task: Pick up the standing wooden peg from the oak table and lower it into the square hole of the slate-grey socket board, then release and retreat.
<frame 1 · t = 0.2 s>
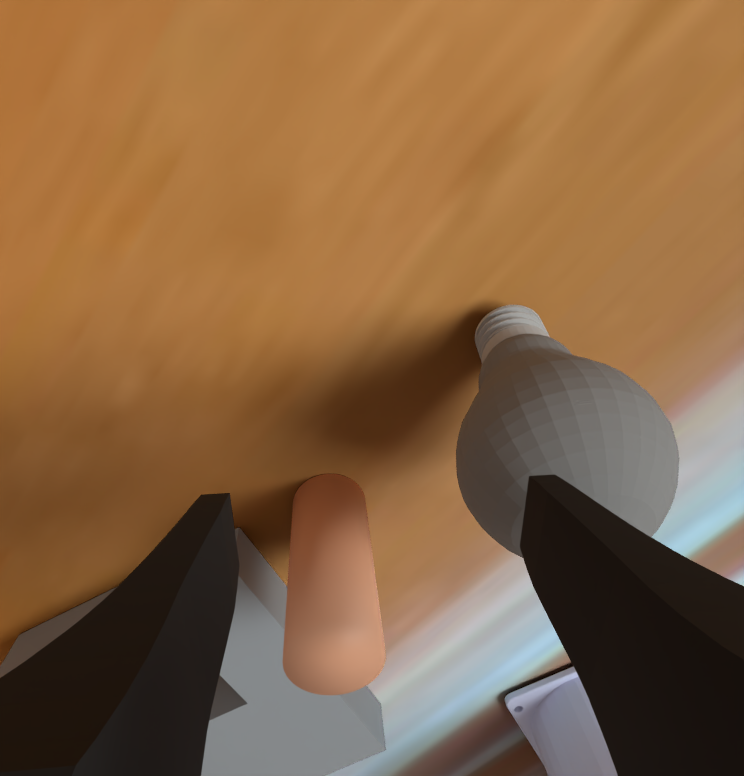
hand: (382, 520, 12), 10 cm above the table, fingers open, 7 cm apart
socket board: (213, 671, 28), on the table
peg: (329, 504, 24), on the table
light bulb: (504, 324, 21), on the table, touching gripper
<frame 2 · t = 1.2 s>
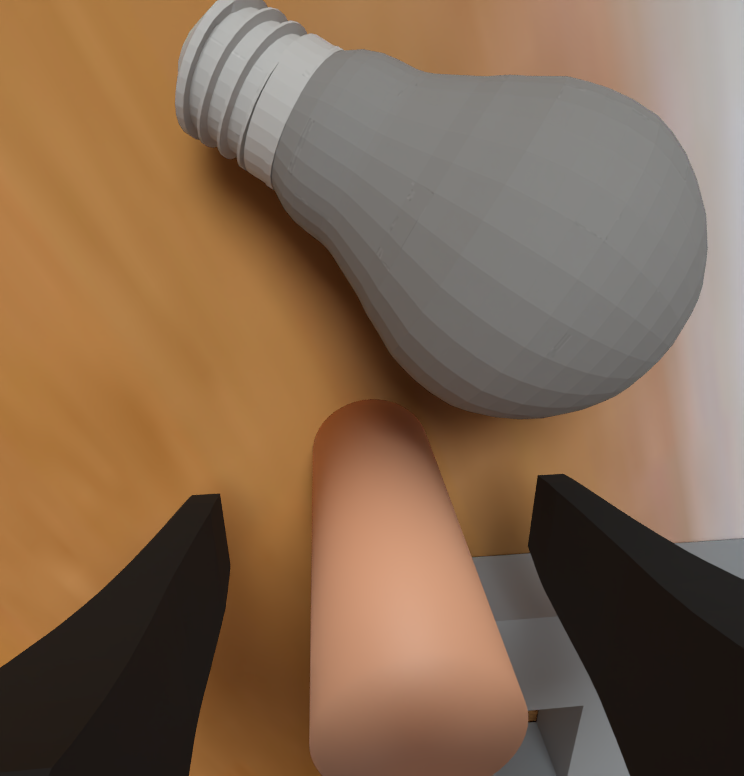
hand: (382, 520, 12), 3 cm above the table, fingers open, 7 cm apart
socket board: (538, 682, 20), on the table
peg: (370, 451, 15), on the table
light bulb: (187, 46, 10), point 1 cm above the table
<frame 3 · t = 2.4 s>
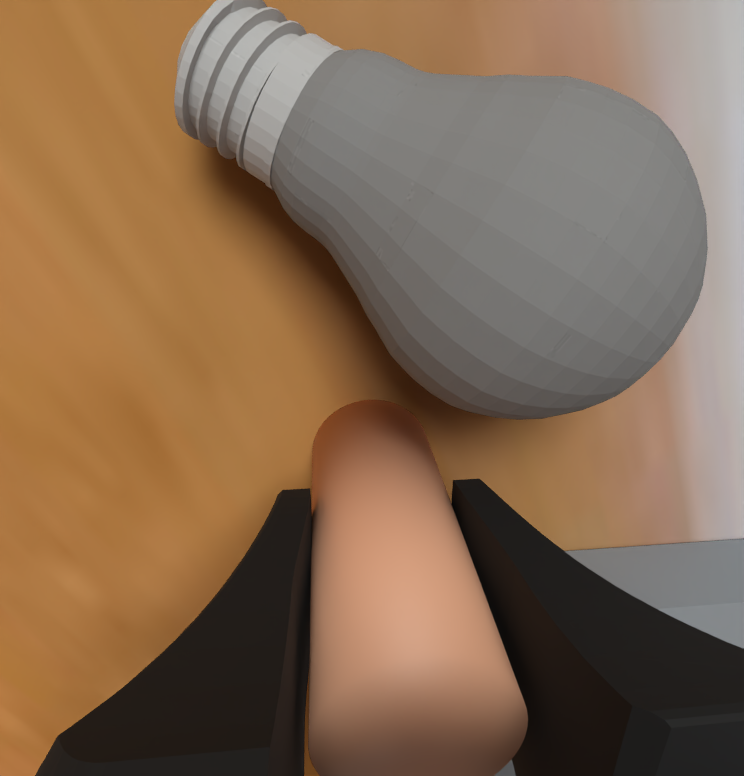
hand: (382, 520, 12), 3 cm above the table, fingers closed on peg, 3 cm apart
socket board: (538, 682, 20), on the table
peg: (370, 451, 15), on the table, touching gripper
light bulb: (186, 46, 10), point 1 cm above the table
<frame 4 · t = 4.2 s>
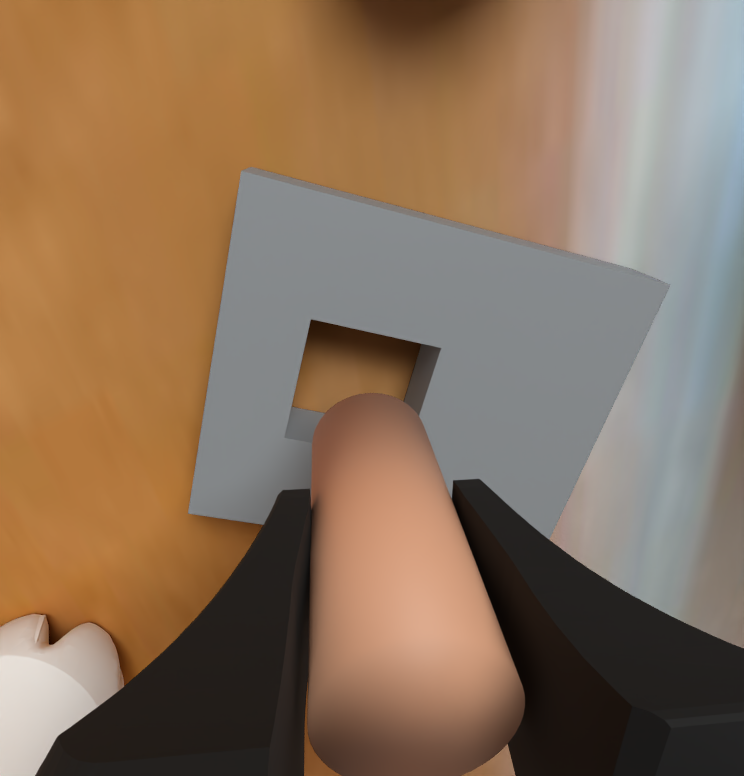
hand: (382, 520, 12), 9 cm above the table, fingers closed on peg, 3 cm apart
water bottle: (61, 650, 26), on the table
socket board: (406, 376, 21), on the table
peg: (369, 445, 15), point 6 cm above the table, touching gripper
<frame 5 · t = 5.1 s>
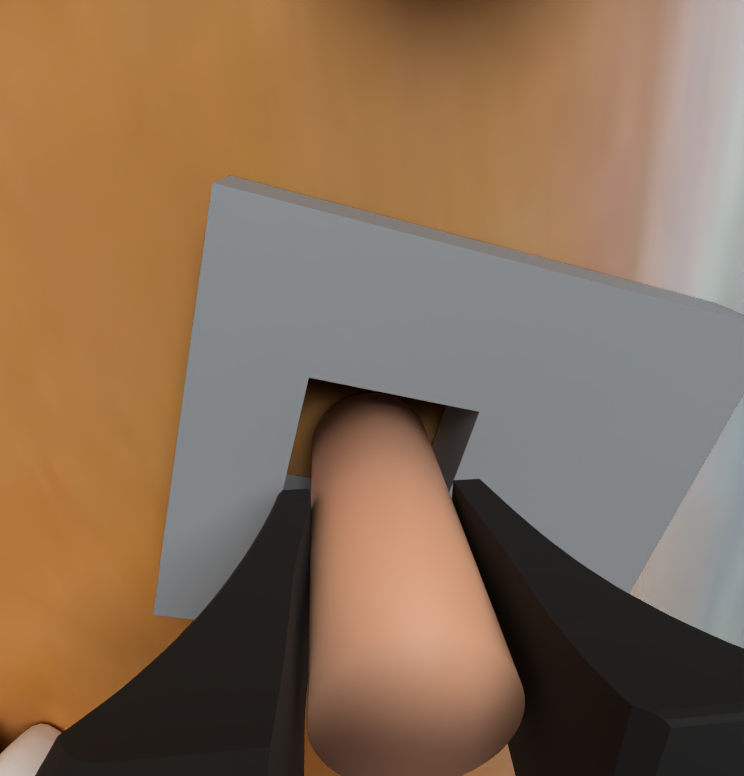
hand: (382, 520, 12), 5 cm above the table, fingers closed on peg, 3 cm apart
water bottle: (10, 751, 21), on the table
socket board: (428, 436, 17), on the table
peg: (369, 445, 15), point 1 cm above the table, touching gripper
when the fingers open (4 cm above the table, at t = 6.0 s): peg drops 1 cm, resting in socket board.
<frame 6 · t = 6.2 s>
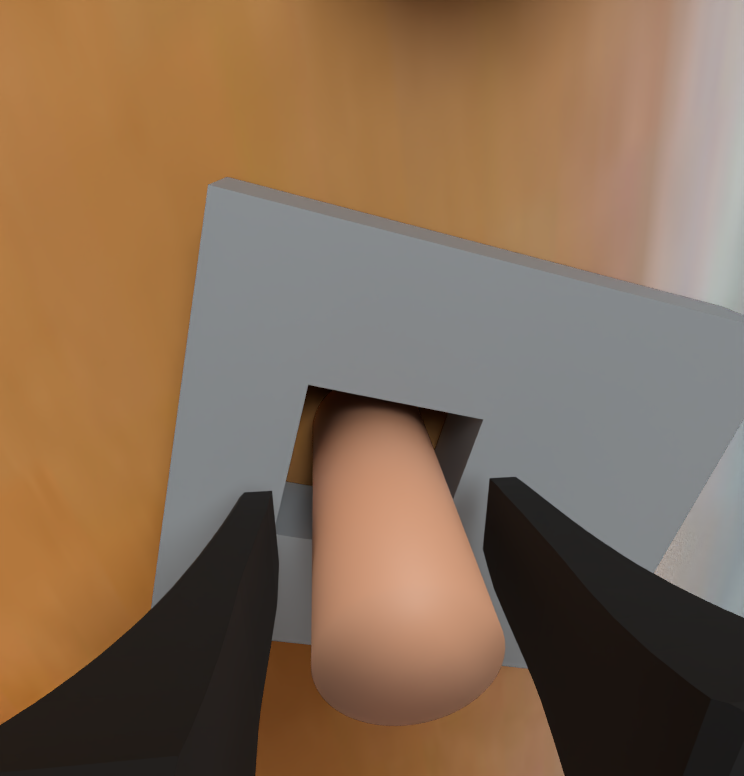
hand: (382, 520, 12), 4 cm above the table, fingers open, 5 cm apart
socket board: (430, 443, 17), on the table
peg: (367, 427, 16), resting in socket board
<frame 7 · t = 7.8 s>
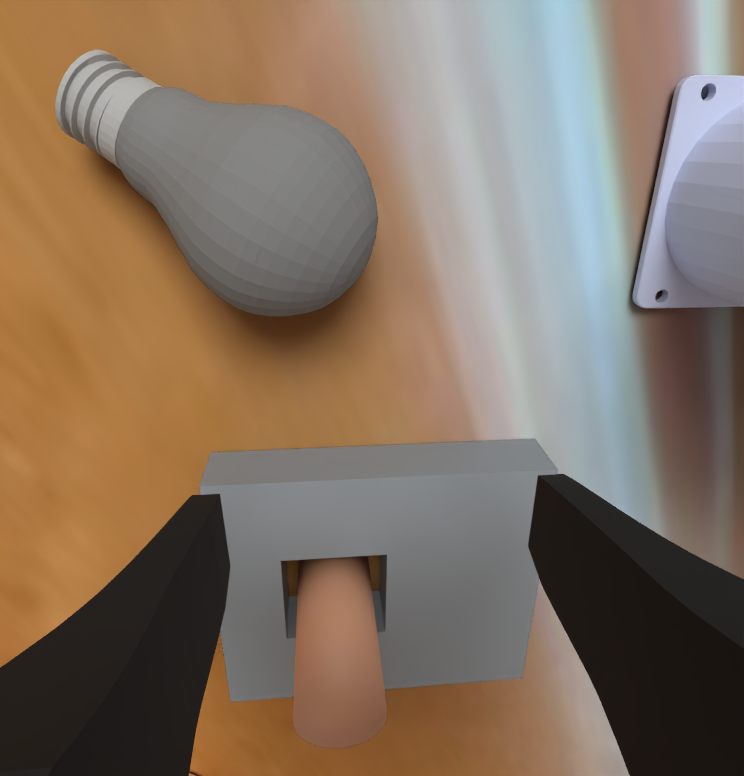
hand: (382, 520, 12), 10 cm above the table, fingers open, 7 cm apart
socket board: (375, 555, 26), on the table
peg: (333, 555, 26), resting in socket board
light bulb: (68, 82, 16), point 1 cm above the table
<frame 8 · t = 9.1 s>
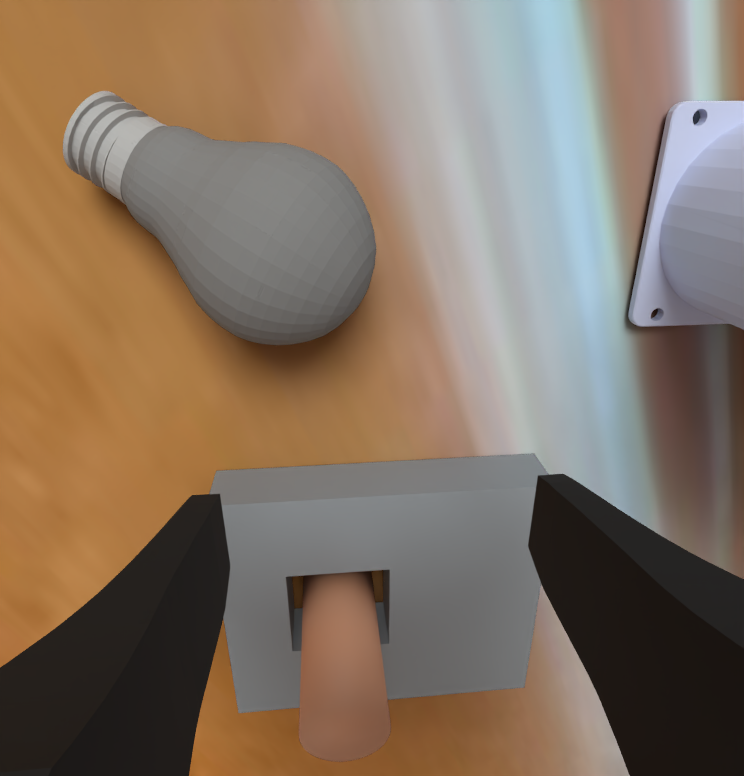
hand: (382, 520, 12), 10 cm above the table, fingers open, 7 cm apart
socket board: (379, 568, 26), on the table
peg: (337, 568, 26), resting in socket board
light bulb: (75, 121, 17), point 1 cm above the table
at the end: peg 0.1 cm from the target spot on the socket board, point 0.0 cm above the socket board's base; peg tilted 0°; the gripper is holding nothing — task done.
